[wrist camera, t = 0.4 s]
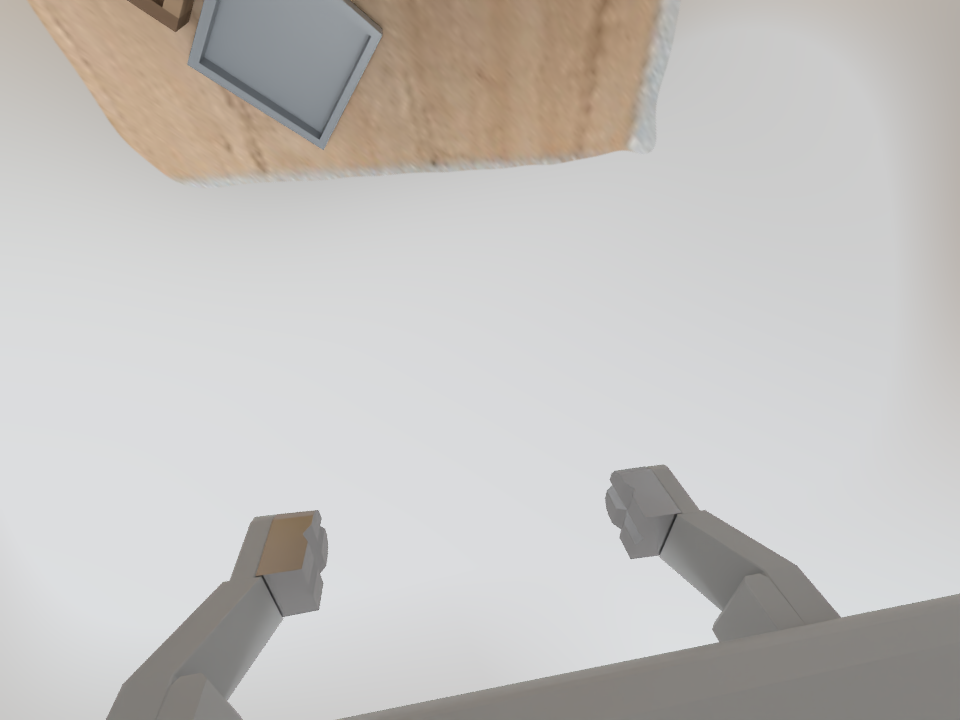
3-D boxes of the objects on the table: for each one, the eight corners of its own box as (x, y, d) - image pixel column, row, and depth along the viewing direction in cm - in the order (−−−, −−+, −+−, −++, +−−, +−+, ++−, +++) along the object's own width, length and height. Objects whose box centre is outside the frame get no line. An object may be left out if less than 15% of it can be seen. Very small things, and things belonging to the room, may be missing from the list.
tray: (237, -99, 34) (230, -98, 32) (382, 28, 42) (382, 35, 40) (194, 57, 41) (187, 64, 39) (325, 140, 49) (323, 149, 47)
